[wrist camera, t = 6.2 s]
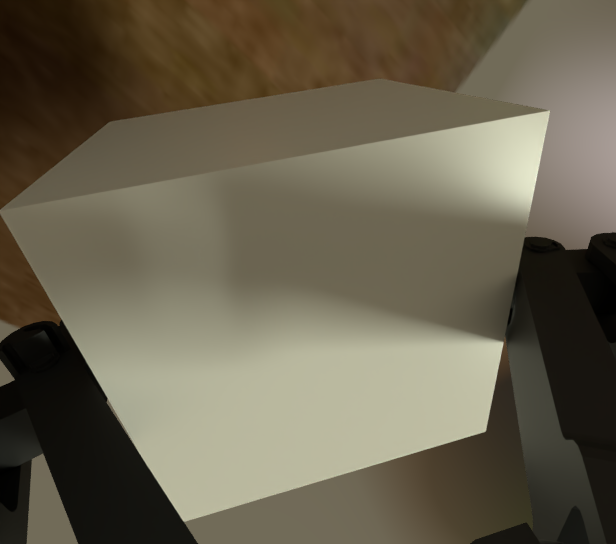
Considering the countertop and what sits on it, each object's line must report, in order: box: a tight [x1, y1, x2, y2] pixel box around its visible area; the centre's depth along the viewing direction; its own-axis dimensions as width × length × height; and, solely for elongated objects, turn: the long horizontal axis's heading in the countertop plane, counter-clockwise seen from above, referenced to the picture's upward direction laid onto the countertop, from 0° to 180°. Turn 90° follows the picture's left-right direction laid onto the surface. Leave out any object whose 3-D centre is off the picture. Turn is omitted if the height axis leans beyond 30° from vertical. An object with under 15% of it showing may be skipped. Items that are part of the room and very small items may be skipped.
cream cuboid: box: [0, 79, 550, 522], centre depth 13 cm, size 10×10×9 cm
